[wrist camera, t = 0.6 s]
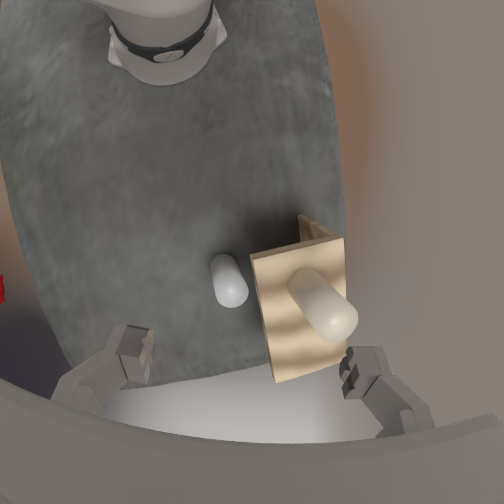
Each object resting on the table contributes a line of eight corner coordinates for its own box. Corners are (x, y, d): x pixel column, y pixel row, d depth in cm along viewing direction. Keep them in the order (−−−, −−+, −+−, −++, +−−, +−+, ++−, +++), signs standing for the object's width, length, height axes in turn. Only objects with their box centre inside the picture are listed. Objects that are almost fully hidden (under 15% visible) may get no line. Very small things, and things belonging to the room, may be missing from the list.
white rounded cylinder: (285, 272, 37) (317, 312, 28) (319, 263, 38) (358, 299, 29) (289, 304, 39) (319, 348, 30) (321, 294, 40) (357, 334, 31)
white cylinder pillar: (206, 257, 50) (212, 282, 41) (233, 250, 51) (245, 274, 41) (212, 281, 52) (219, 310, 42) (239, 275, 52) (251, 303, 43)
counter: (233, 229, 49) (252, 260, 36) (302, 213, 51) (343, 237, 38) (254, 333, 57) (275, 383, 44) (313, 316, 59) (345, 360, 45)
